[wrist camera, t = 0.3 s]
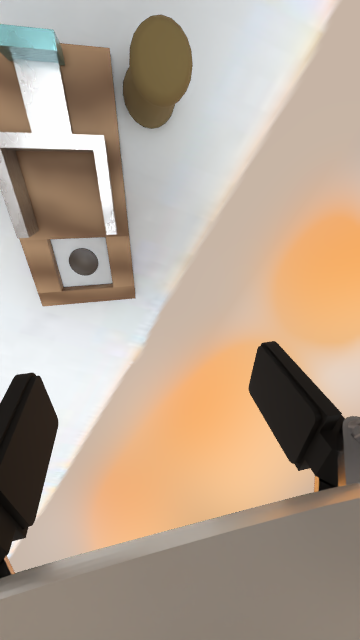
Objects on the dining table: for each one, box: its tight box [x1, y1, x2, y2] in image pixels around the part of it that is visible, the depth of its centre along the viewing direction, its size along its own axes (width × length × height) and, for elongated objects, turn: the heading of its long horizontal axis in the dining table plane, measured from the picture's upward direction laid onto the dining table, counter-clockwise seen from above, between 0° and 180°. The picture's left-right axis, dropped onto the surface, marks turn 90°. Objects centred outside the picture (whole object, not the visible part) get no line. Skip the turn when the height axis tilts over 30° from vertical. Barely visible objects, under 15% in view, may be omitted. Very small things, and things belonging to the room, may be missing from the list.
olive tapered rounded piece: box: [123, 15, 192, 129], centre depth 23 cm, size 6×6×11 cm
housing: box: [0, 24, 117, 238], centre depth 25 cm, size 17×11×4 cm, turn 0°
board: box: [0, 43, 135, 306], centre depth 31 cm, size 28×14×2 cm, turn 0°
